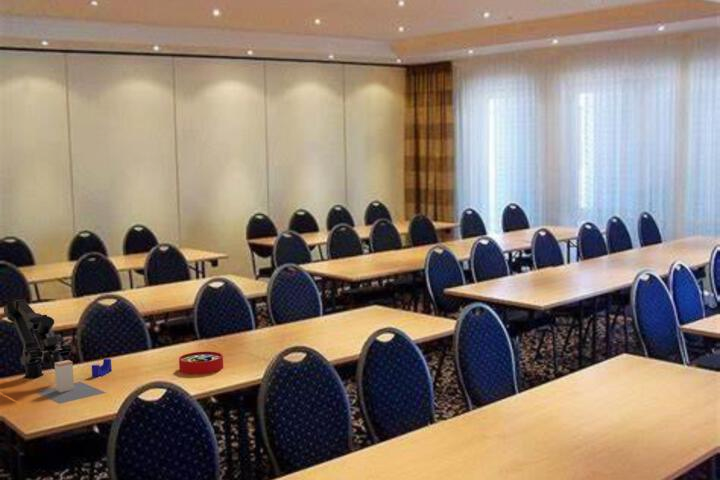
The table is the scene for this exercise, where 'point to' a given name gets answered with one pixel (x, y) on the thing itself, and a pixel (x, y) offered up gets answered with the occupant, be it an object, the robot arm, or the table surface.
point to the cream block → (64, 376)
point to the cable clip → (102, 368)
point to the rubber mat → (70, 393)
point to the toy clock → (201, 362)
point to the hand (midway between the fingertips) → (56, 369)
